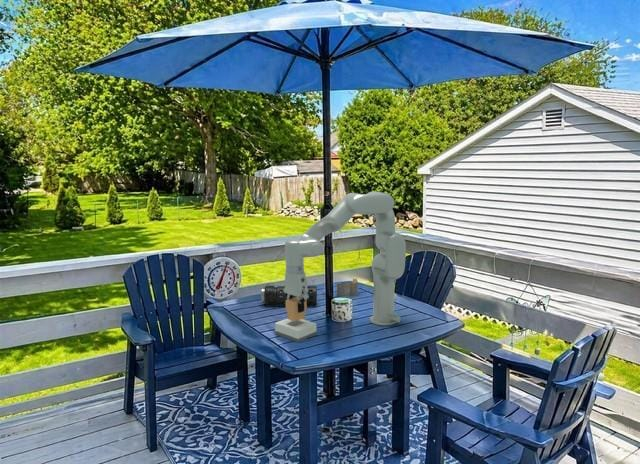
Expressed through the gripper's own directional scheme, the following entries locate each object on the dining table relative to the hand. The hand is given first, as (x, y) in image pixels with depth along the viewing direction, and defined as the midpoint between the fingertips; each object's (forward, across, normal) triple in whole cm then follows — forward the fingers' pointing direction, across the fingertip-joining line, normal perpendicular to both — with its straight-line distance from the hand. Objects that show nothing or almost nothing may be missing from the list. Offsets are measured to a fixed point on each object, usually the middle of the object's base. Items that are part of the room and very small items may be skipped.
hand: (296, 309), depth 197 cm
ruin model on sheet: (+12, +22, -56) cm, 62 cm away
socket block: (+11, 0, +1) cm, 11 cm away
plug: (+4, 0, 0) cm, 4 cm away
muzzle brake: (+11, +33, -24) cm, 42 cm away
